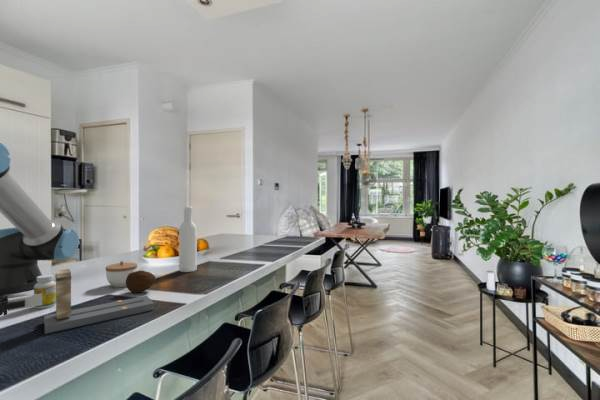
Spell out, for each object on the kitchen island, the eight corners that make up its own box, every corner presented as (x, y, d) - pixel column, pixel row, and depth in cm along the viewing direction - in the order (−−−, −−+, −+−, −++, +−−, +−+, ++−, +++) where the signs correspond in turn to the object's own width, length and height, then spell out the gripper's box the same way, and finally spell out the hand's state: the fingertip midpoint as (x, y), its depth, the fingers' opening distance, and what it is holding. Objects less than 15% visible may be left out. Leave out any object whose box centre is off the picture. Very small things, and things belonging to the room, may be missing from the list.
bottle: (178, 269, 145) (178, 206, 144) (195, 267, 148) (196, 206, 148) (179, 273, 138) (179, 207, 137) (197, 271, 141) (197, 206, 141)
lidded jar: (123, 290, 113) (123, 265, 112) (98, 288, 115) (98, 263, 115) (143, 282, 123) (143, 259, 123) (120, 280, 125) (120, 257, 125)
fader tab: (56, 319, 80) (56, 274, 80) (55, 313, 84) (55, 270, 84) (71, 316, 82) (71, 272, 82) (70, 310, 86) (69, 268, 86)
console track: (44, 334, 77) (44, 325, 77) (44, 322, 84) (44, 314, 84) (154, 309, 94) (154, 302, 94) (146, 301, 101) (146, 295, 101)
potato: (127, 290, 112) (127, 269, 112) (156, 287, 116) (156, 267, 116) (123, 296, 106) (123, 274, 105) (154, 293, 109) (154, 271, 109)
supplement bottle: (60, 304, 98) (59, 274, 98) (40, 310, 93) (40, 279, 93) (49, 302, 100) (49, 273, 99) (30, 307, 95) (29, 277, 94)
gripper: (-93, 330, 69) (42, 306, 85) (-116, 353, 59) (42, 321, 75) (-94, 297, 69) (42, 279, 85) (-116, 315, 59) (42, 291, 75)
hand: (42, 299), depth 80 cm, fingers closed
